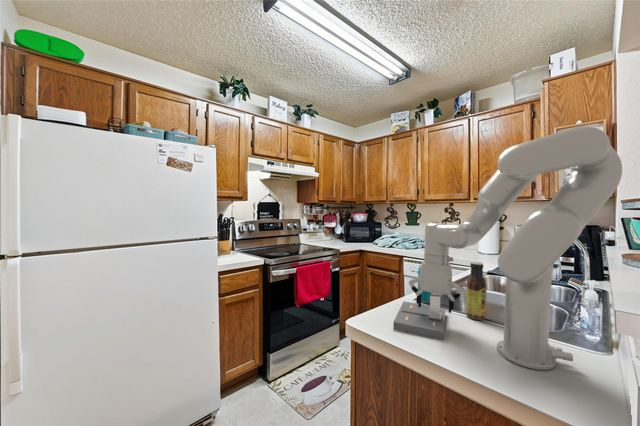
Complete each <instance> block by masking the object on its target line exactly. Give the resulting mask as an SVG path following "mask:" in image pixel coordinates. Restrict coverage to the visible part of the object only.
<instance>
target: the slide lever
mask: <svg viewBox="0 0 640 426" xmlns="http://www.w3.org/2000/svg"><path fill="white" fill-rule="evenodd" d="M429 306H430V311H429V314H428V318H432V319H437V320H441V316H442V313H440V308H441V294H438V293H432V292H431V295H430V303H429Z"/></svg>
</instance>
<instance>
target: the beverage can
mask: <svg viewBox="0 0 640 426" xmlns="http://www.w3.org/2000/svg"><path fill="white" fill-rule="evenodd" d="M420 270H421V264H420V265H418V269H417V278H418V277H420ZM417 289H419V282H417ZM421 294H422V301H421V304H422V303H423V304H430V295H431V292H426V291H423V292H422V293H421Z"/></svg>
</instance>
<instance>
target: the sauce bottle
mask: <svg viewBox="0 0 640 426" xmlns="http://www.w3.org/2000/svg"><path fill="white" fill-rule="evenodd" d="M469 264H470V275H469V277H468V278H467V280H466V292H465V295H466V298H465V299H466V301H465V311H466V317H468V318H470V320H471V319H472V320H476V321H484V320H485V319H486V315H487V313H486V312H487V284H486V280H485V278H484V274H483V273H484V272H483V271H484V263H482V262H475V261H471V262H470V263H469Z"/></svg>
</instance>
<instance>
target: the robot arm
mask: <svg viewBox="0 0 640 426" xmlns="http://www.w3.org/2000/svg"><path fill="white" fill-rule="evenodd" d="M496 165H497V167H496V168H497V170H496V171H495V173H493V175H492V176H491V177H490V178H489V179H488V181H487V182H486V183H485V184H484V185H483V186H482V188H481V189H480V190H479V191H478V194H477V203H476V206H475V208H474V209H473V211H472V212H471V213H470V215H468V217H467V218H466V219H465V220H464V221H463V223H458V224H447V223H444V222H427V223H426V225H425V226H424V227H425V228H424V252H423V253H424V254H423V257H424V258H423V260H422V261H421V264H420V265H421V270H420V277H418V276H417V277H415V278H413V279H410V280H409V281H408V285H409V286H410V288H411V290H412V292H414V293H415V295H416V304H418V307H421V304H422V302H421V301H422V294H421V293H422V292H423V291H426V292H432V293H438V294H440V295H447V297H448V313H449V314H452V311H453V310H454V309H455V307H454V306H455V301H456V300H457V299H459V298H460V297H461V296H462V294H463V293H464V291H465V288H464V287H462V286H461V285H459V284H458V283H456V282H454V280H453V270H452V266H451V263H450V262H454V257H453V256H450V255H449V254H450V253H449V250H450V248H451V249H458V250H460V249H465V248H467V247H470V246H471V247H472V246H474V245H475V244H478V243H479V242H480V241H481V240H482V239H483V238H484V237H485V236H486V234H488V233H489V232H490V231H491V230H492V229H493V227H494V226H495V225H496V223H497V222H498V221H499V220H500V219H501V217H502V216H503V215H504V214H505V212H506V211H507V210H508V208H509V207H511V205H513V203H514V202H515V201H516V200H517V199H518V198H519V196H520V195H521V194H522V193H523V192H524V191H525V190H526V189H527V188H528V187H529V186H530V185H531V184H532V183H533V182H534V181H535V179H536V178H537V177H538V176H539V175H541V174H542V175H543V174H548V173H552V172H557V171H562V170H567V169H570V174H569V177H568V178H567V180H565V182H564V183H563V184H562V185H561V187H560V188H559V189H558V191H557V192H556V193H555V194H554V196H553V197H552V199H551V200H550V201H549V202H548V203H547V205H545V206H544V207H543V208H539V209H538V210H536V211H534V212H532V213H531V214H530V215H529V216H528V217H527V218H526V219H525V220H524V222H523V223H522V224H521V225H520V227H518V229H517V231H515V233H514V234H513V236H512V237H511V238H510V239H509V241H508V242H506V245H504V247H503V249H502V250H501V252H499V255H498V257H497V265H498V269H499V271H500V273H501V274H502V276H504V277H505V278H506V279H505V292H504V293H505V295H504V320H503V321H504V322H503V325H504V326H503V340H500V341H498V342H497V343H496V351H498V353H499V354H500V356H502V357H503V358H505V359H507V360H508V361H509V362H512V363H514V364H516V365H519V366H522V367H525V368H529V369H532V370H540V371H549V370H552V369H554V368H555V367H556V364H557V363H556V360H557V359H559V360H560V359H561V360H563V361H568V362H573V361H574V356H573V354H572V353H571V352H566V351H563V348H561V347H556V346H555V347H554V346H552V345H550V343H549V338H550V337H549V336H550V335H549V333H550V315H551V314H550V309H551V308H550V307H551V294H552V293H551V292H552V280H553V272H554V264H555V263H557V261H558V260H559V259H560V258H561V257H562V255H564V254H565V252H566V251H567V250H568V249H569V248H570V247H571V246H572V245H573V244H574V242H575V241H577V240H578V238H579V237H580V235H582V232H583V230H584V229H585V227H586V225H588V224H589V222H590V221H591V220H592V219H593V218H594V217H595V215H596V214H597V213H599V211H600V209H601V208H602V207H603V206H604V204H606V202H607V201H608V200H609V199H610V198H611V197H612V195H613V194H614V192H615V191H616V190H617V189H618V186H619V185H620V182H621V180H622V178H623V177H622V175H623V164H622V160H621V157H620V156H619V154H618V153H617V151H616V150H615V149H614V147H613V146H612V145H611V141H610V137H609V136H608V134H607V133H606V132H605V131H603V130H602V129H599V128H597V127H593V126H578V127H574V128H573V127H572V128H569V129H565V130H562V131H559V132H555V133H552V134H548V135H544V136H541V137H539V138H535V139H532V140H527V141H525V142H521V143H518V144H514V145H512V146H510V147H508V148H507V149H505V150H504V151H503V152H502V153H501V154H500V155H499V156H498V159H497V163H496ZM418 282H419V289H418V287H416V285H415V284H418ZM453 288H454V289H456V290H457V292H455V293H454V294H453V292H452V291H453V290H452V289H453Z"/></svg>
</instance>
